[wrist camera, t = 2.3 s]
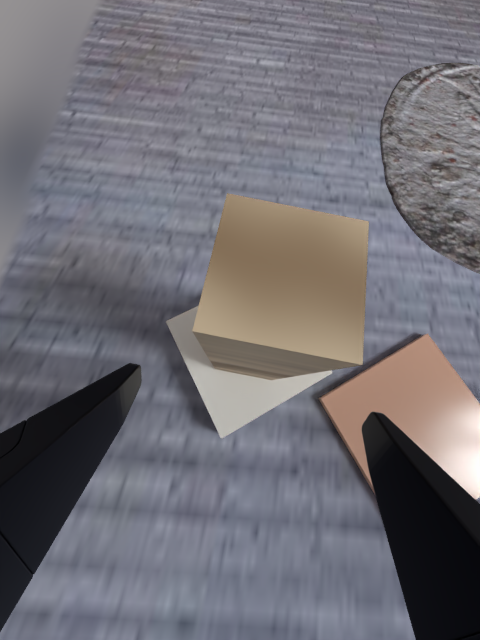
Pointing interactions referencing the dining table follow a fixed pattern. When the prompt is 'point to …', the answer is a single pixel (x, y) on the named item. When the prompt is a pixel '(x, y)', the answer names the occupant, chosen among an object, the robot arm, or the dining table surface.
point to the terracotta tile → (414, 409)
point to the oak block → (283, 291)
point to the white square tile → (232, 382)
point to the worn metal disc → (437, 157)
